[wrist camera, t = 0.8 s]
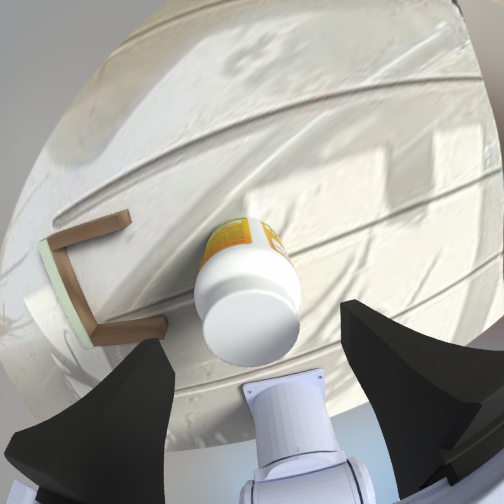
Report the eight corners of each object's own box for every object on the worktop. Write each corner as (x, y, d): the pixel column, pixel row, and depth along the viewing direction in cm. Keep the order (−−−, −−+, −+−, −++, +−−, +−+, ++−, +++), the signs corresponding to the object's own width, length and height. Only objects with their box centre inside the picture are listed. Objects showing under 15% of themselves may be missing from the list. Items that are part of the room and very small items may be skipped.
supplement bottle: (199, 276, 20) (176, 366, 11) (216, 206, 19) (197, 257, 9) (268, 292, 21) (290, 385, 12) (290, 226, 19) (337, 290, 10)
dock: (168, 325, 22) (162, 342, 19) (94, 334, 22) (84, 348, 19) (128, 209, 18) (115, 216, 16) (52, 234, 18) (36, 243, 16)
